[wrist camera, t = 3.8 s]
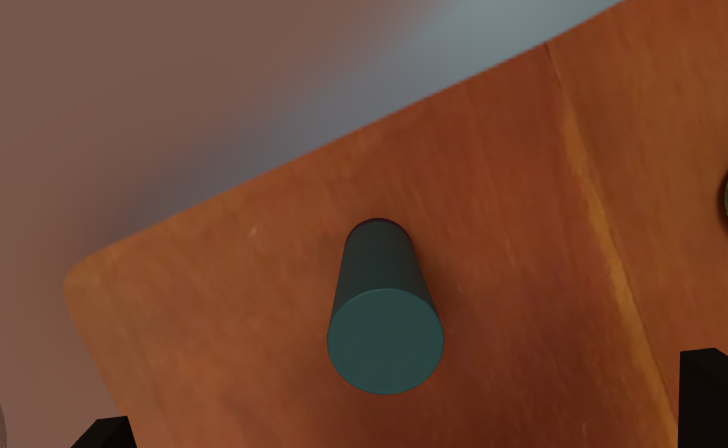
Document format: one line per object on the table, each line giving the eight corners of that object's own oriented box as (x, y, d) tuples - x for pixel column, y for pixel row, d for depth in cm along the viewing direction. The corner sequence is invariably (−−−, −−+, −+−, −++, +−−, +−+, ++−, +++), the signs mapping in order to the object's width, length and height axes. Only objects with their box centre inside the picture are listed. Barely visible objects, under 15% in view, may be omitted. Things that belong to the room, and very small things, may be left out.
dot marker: (349, 286, 25) (336, 402, 15) (339, 222, 25) (317, 296, 14) (415, 277, 25) (450, 388, 15) (407, 213, 24) (438, 280, 14)
